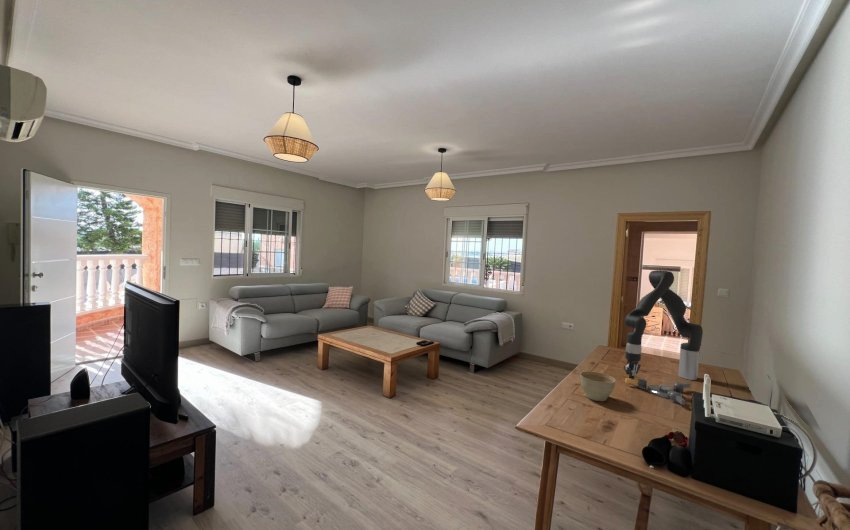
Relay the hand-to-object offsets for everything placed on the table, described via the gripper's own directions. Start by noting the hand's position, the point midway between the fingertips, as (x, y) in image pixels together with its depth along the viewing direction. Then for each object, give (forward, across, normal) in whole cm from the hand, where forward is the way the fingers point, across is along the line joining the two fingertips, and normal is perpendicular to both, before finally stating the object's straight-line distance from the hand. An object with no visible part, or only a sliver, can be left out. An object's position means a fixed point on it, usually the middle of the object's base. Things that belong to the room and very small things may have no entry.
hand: (631, 381), depth 201 cm
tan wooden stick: (+1, +1, +3) cm, 3 cm away
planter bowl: (+2, +36, +3) cm, 36 cm away
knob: (0, +4, +25) cm, 25 cm away
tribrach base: (+2, -4, +13) cm, 14 cm away
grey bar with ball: (+1, -18, +17) cm, 25 cm away
